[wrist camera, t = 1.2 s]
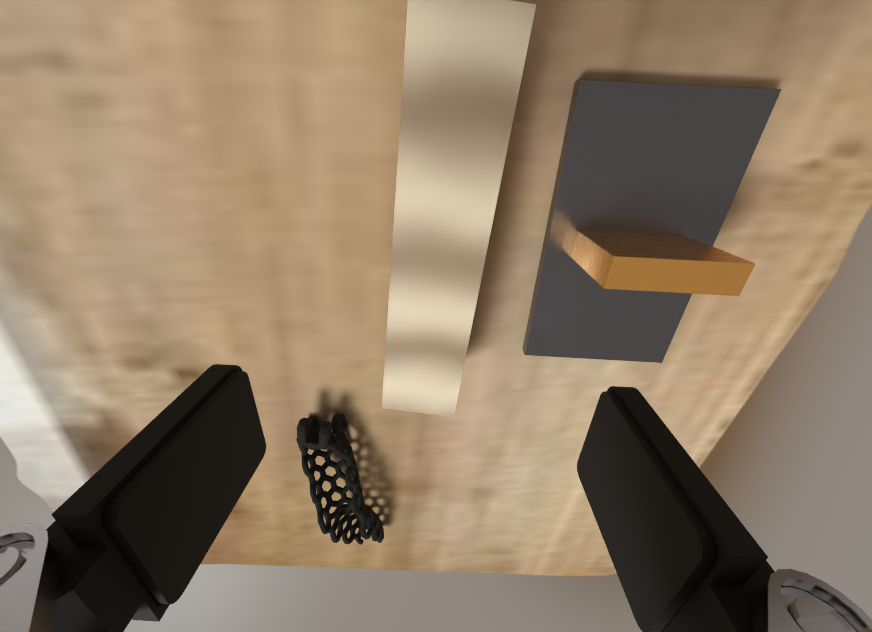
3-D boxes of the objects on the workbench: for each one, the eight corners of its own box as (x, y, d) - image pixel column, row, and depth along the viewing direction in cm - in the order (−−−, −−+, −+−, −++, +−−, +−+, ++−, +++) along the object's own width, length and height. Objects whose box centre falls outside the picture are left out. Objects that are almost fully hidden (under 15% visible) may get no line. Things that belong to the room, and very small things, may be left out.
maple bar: (421, 32, 20) (409, -16, 14) (509, 45, 21) (536, 4, 14) (395, 355, 32) (381, 408, 25) (452, 362, 32) (453, 416, 26)
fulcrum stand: (575, 82, 21) (627, 57, 15) (767, 91, 21) (900, 70, 15) (522, 348, 30) (541, 402, 24) (655, 356, 30) (708, 411, 24)
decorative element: (393, 523, 44) (386, 575, 39) (356, 527, 45) (344, 578, 39) (341, 391, 34) (322, 437, 29) (294, 398, 35) (267, 443, 29)
